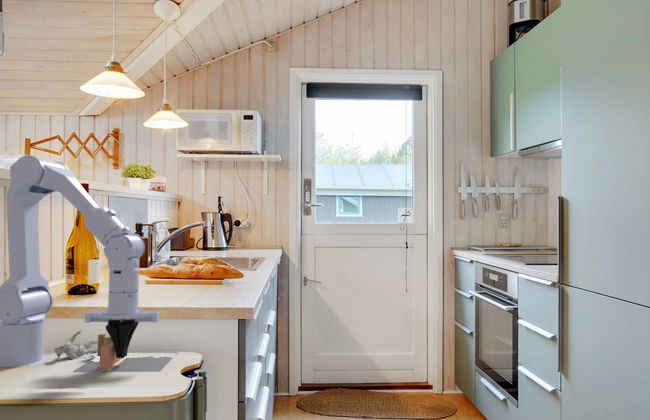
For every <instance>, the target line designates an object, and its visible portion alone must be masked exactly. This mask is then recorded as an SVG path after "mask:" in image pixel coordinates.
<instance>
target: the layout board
mask: <svg viewBox="0 0 650 420" xmlns="http://www.w3.org/2000/svg"><path fill="white" fill-rule="evenodd" d="M127 353H177V354H178V353H179V352H178V351H172V352H171V351H169V352H167V351H166V352H165V351H153V352H151V351H150V352H148V351H146V352H145V351H140V352H137V351H135V352H133V351H132V352H131V351H130V352H127ZM172 359H173V358H172V357H171V358H170V357H166V356H165V357H159V358H155V357H154V358H153V356H151V357H150V356H149V357H142V358H141V357H139V358H138V357H137V358H134V357H133V358H127V357H124V358H122V359H121V360H119V361H118V362H116V363H115V364H114V365H112V366H111V367H110V368H109V369H108V370H100V361H99V362H94V361H90V360H89V361H87V362H86V363H85V362H84V364H82V365H81V366H79V367H78V368H75V369H74V370H73V371H72V373H105V372H106V373H108V372H109V373H113V372H114V373H116V372H118V373H120V372H122V373H123V372H125V373H126V372H129V373H130V372H131V373H132V372H133V373H134V372H135V373H136V372H146V373H147V372H161V371H162V370H163V369H164V368H165V367H166V366H167V365H168V364H170V362H171V361H172Z"/></svg>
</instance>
